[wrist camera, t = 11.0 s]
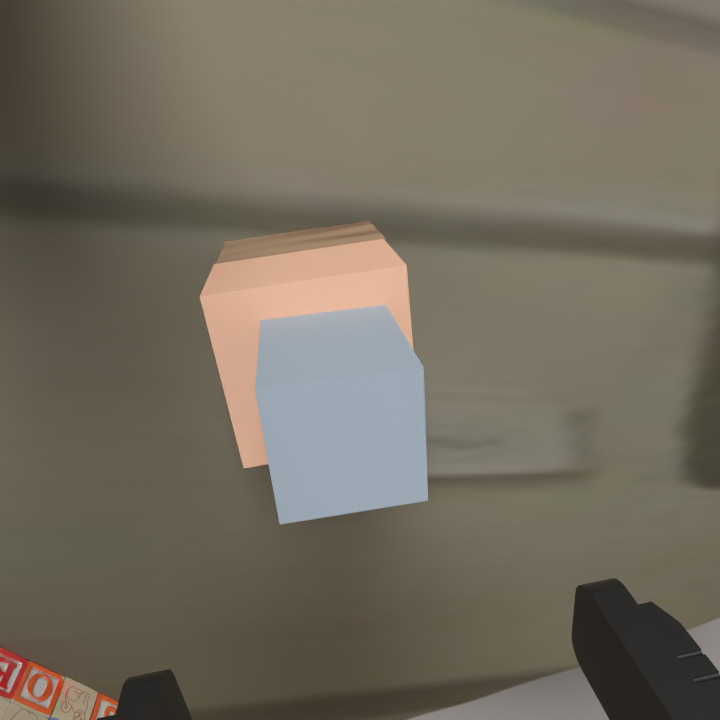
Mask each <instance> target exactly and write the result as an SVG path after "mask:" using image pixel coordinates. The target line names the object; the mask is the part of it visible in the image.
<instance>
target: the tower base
mask: <svg viewBox="0 0 720 720" xmlns="http://www.w3.org/2000/svg"><path fill="white" fill-rule="evenodd" d="M381 239H384V240H385V238H384V236H383V235H382V234H381V233H380V232H379V231H378V230H377V229H376V228H375V226H374V225H373V224H372V223H371V222H370V221H364V222H357V223H350V224H343V225H336V226H330V227H323V228H316V229H309V230H303V231H296V232H289V233H282V234H275V235H269V236H262V237H255V238H248V239H242V240H235V241H228V242H225V243H224V245H223V248H222V250H221V252H220V255H219V257H218V259H217V262H216V264H219V263H226V262H233V261H239V260H246V259H253V258H260V257H266V256H273V255H280V254H287V253H293V252H300V251H307V250H314V249H320V248H327V247H334V246H340V245H347V244H354V243H361V242H367V241H374V240H381Z"/></svg>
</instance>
